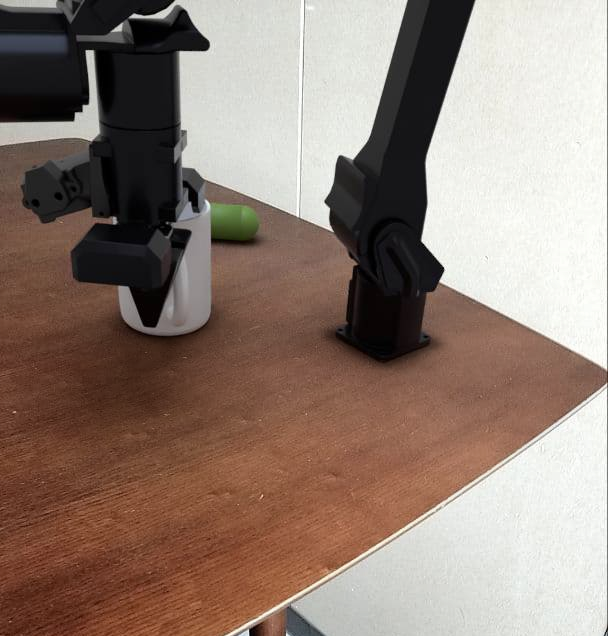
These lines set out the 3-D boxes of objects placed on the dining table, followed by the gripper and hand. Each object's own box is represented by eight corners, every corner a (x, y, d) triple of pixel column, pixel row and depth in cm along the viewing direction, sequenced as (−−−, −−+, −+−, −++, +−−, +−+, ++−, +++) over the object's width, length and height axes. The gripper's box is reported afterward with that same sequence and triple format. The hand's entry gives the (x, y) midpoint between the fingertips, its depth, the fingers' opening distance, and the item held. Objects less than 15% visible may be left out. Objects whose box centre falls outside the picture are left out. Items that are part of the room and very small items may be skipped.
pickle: (260, 234, 97) (261, 202, 95) (257, 247, 94) (257, 213, 92) (175, 228, 97) (174, 195, 95) (169, 240, 94) (167, 206, 92)
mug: (230, 353, 75) (231, 236, 69) (134, 362, 73) (126, 241, 67) (200, 295, 84) (199, 186, 77) (114, 301, 82) (105, 190, 75)
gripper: (65, 81, 68) (84, 272, 78) (-23, 145, 54) (14, 370, 64) (205, 94, 68) (206, 284, 78) (155, 162, 53) (164, 385, 63)
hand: (150, 326), depth 71 cm, fingers closed
